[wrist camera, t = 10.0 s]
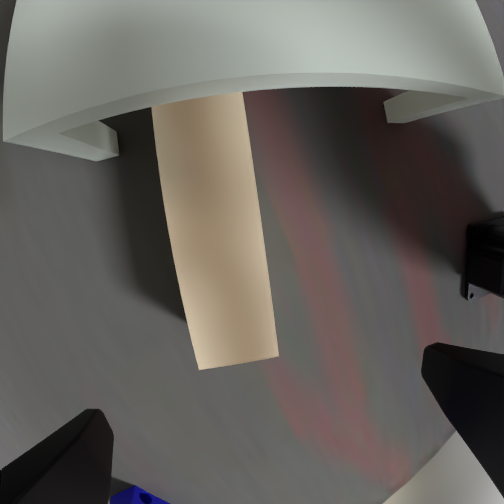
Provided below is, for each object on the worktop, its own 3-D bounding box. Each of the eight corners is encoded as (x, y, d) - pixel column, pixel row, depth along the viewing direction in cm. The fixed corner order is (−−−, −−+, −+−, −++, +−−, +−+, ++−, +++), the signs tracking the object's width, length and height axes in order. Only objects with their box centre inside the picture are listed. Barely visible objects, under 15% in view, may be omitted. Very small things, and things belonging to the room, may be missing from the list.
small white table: (375, 13, 16) (448, -49, 7) (404, 123, 18) (508, 97, 9) (90, 36, 14) (28, -41, 5) (96, 161, 16) (3, 141, 7)
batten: (212, -32, 15) (214, -76, 10) (263, 318, 20) (278, 356, 15) (156, -24, 14) (146, -67, 9) (201, 328, 19) (199, 369, 15)
